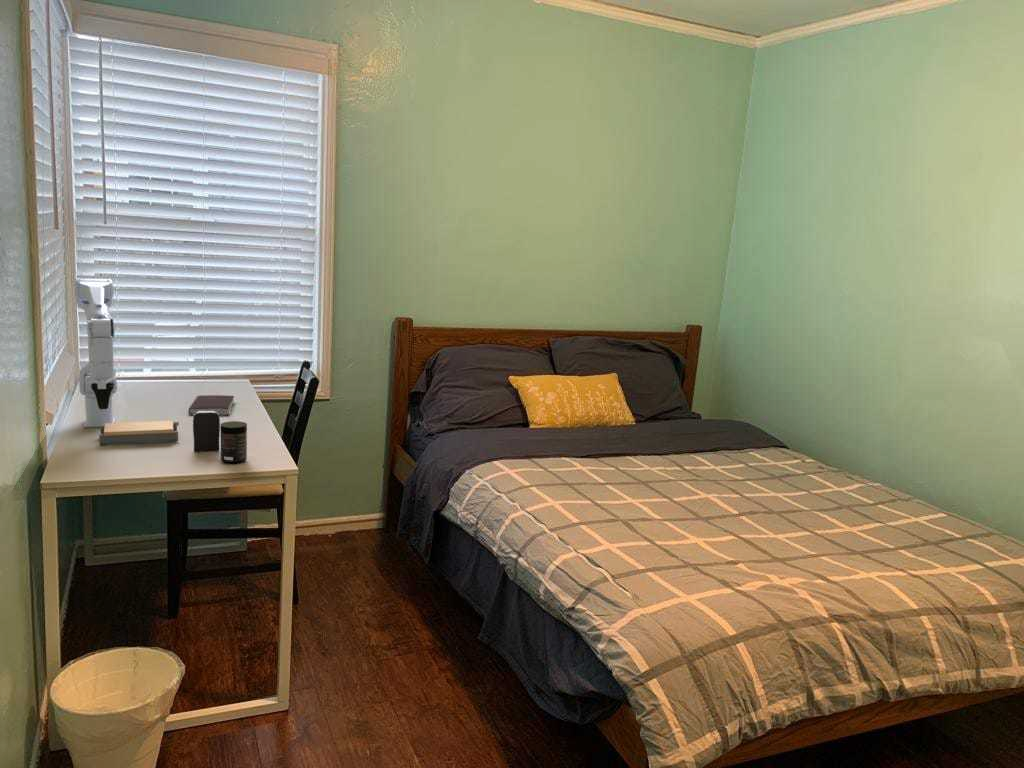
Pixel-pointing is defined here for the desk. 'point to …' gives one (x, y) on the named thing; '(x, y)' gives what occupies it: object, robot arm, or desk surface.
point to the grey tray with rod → (138, 437)
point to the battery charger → (206, 431)
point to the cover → (138, 428)
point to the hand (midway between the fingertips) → (103, 408)
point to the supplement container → (233, 442)
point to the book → (212, 404)
